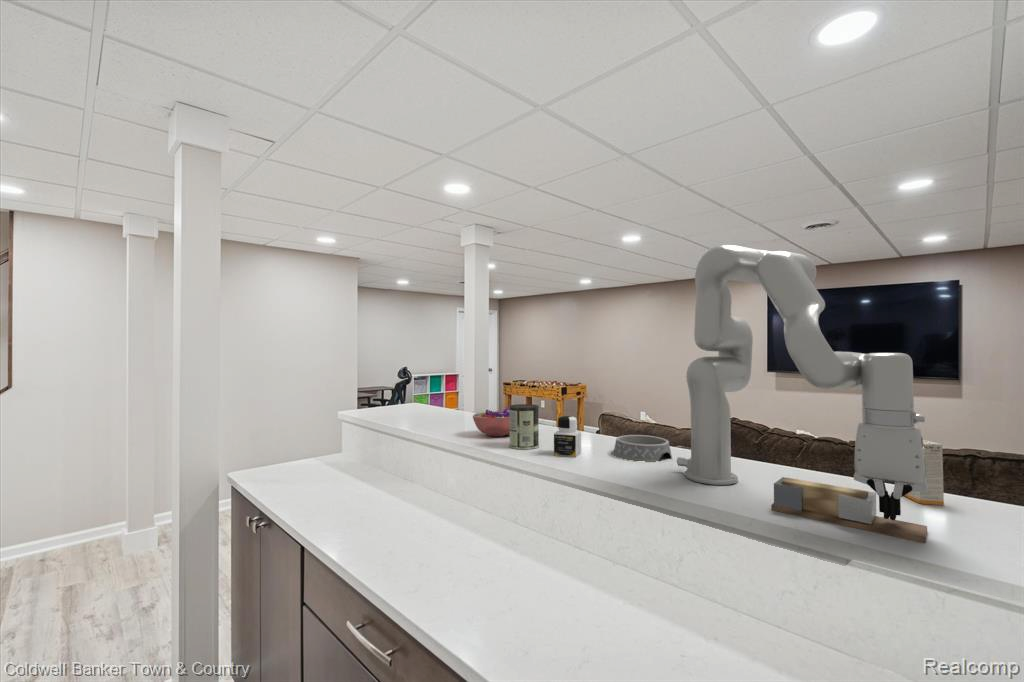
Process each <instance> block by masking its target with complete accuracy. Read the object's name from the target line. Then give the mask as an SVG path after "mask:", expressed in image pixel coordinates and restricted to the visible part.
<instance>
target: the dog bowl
mask: <svg viewBox="0 0 1024 682" xmlns="http://www.w3.org/2000/svg"><path fill="white" fill-rule="evenodd" d="M666 453H667V455H669V456H670V458H672V459H673V456H672V455H673V454H672V451H671V446H670V441H669V440H668V439H665V438H664V437H663V438H662V437H661V436H660V437H659V436H654V435H647V434H646V435H645V434H628V435H620V436H618V437H617V438H616V439H615V443H614V448H613V452H612V455H613V456H614V457H615V456H616V457H615V458H617V457H618V458H617V459H620V458H622V459H621V460H624V459H627V460H626V461H629V460H633V461H632V462H637V461H645V462H644V463H657V462H656V461H660V459H661V458H663V457H664V456H665V454H666Z"/></svg>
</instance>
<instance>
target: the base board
mask: <svg viewBox="0 0 1024 682" xmlns="http://www.w3.org/2000/svg"><path fill="white" fill-rule="evenodd" d="M770 509H771V511H774V512H775V511H776V512H780V513H784V514H790V515H794V516H799V517H803V518H806V519H807V518H808V519H812V520H817V521H822V522H826V523H831V524H835V525H840V526H845V527H850V528H855V529H858V530H859V529H860V530H863V531H868V532H873V533H878V534H882V535H888V536H891V537H892V536H893V537H896V538H900V539H905V540H911V541H915V542H918V543H924V544H926V541H927V536H928V525H924V524H920V523H919V524H918V523H914V522H910V521H909V522H908V521H903V520H898V519H895V521H894V520H891V519H890V518H889V519H884V516H883V517H882V516H879V515H878V516H877V515H876V516H875V518H874V521H873V523H872V524H868V523H863V522H858V521H854V520H849V519H844V518H839V516H834V515H829V514H824V513H819V512H815V511H810V510H805V509H803V510H802V511H798V510H793V509H789V508H784V507H779V506H774V502H773V503H772V504H771V505H770Z"/></svg>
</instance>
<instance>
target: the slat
mask: <svg viewBox="0 0 1024 682" xmlns="http://www.w3.org/2000/svg"><path fill="white" fill-rule="evenodd" d="M782 484H785V485H791V486H796V487H802V488H803V509H805V510H810V511H815V512H819V513H824V514H829V515H834V516H839V497H838V495H839V494H841V495H847V496H852V497H858V498H863V499H866V497H867V495H868V492H869V491H868V490H862V489H856V488H850V487H846V486H845V487H844V486H839V485H832V484H827V483H821V482H815V481H809V480H803V479H797V478H791V477H785V479H784V480H782Z"/></svg>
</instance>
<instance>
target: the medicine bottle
mask: <svg viewBox="0 0 1024 682" xmlns="http://www.w3.org/2000/svg"><path fill="white" fill-rule="evenodd" d="M557 429H558V430H557V431H556V432H554V434H553V455H554V456H555V455H557V457H566V458H567V457H568V458H569V457H570V458H576V457H578V456H579V455H580V454H581V453H582V449H581V448H582V446H581V445H582V443H581V442H582V441H581V440H582V437H581V436H582V433H581V431H580V430H578V419H577V418H576V417H575V416H571V415H569V416H568V415H563V416H560V417H558V418H557Z"/></svg>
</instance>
